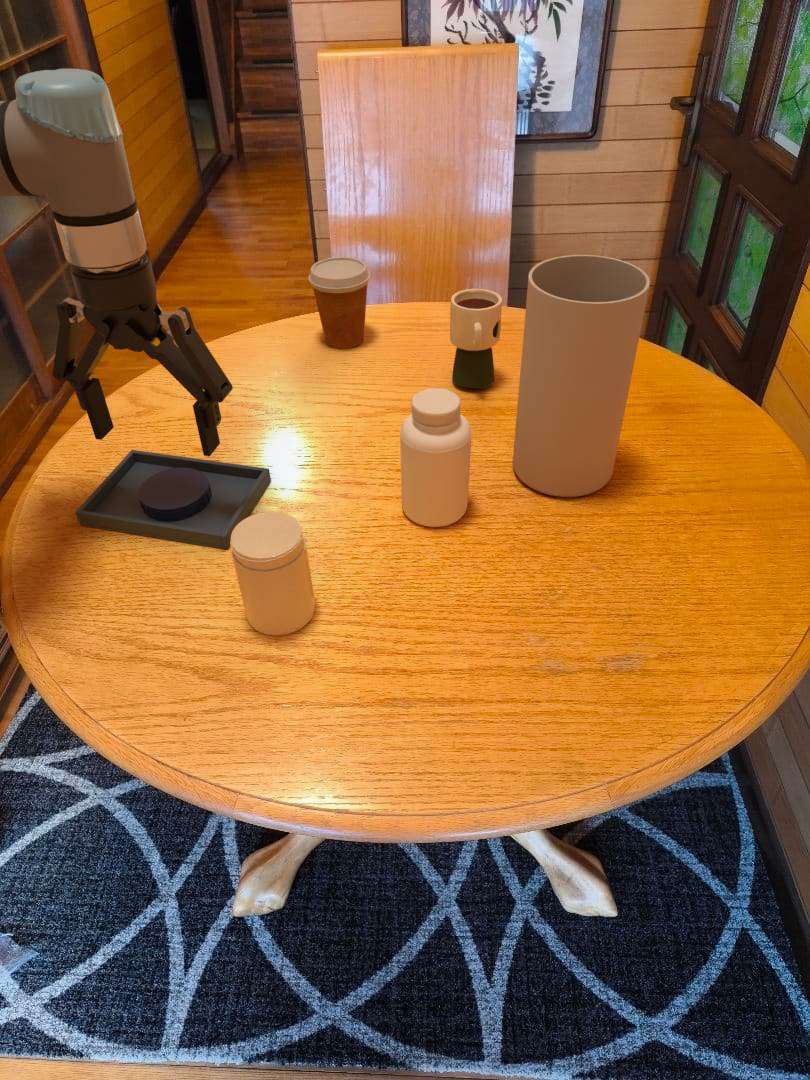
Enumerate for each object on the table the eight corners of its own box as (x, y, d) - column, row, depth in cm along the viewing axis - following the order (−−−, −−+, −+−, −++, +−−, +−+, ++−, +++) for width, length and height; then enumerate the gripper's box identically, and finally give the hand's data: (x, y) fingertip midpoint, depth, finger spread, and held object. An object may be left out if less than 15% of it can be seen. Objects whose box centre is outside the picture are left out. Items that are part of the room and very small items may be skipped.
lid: (223, 484, 96) (220, 472, 94) (192, 526, 90) (189, 514, 88) (162, 475, 97) (159, 463, 96) (128, 516, 91) (124, 504, 90)
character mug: (500, 401, 109) (506, 315, 101) (450, 402, 110) (452, 317, 101) (493, 363, 118) (498, 281, 109) (447, 364, 118) (448, 282, 109)
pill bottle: (447, 537, 88) (449, 427, 78) (389, 515, 91) (383, 406, 81) (480, 500, 93) (485, 392, 83) (423, 480, 96) (422, 374, 86)
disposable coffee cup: (325, 358, 120) (317, 284, 112) (308, 332, 127) (300, 261, 119) (382, 346, 123) (378, 274, 115) (362, 322, 129) (358, 251, 121)
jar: (235, 629, 78) (215, 552, 71) (262, 580, 83) (246, 505, 76) (301, 641, 77) (288, 564, 70) (324, 591, 82) (314, 515, 75)
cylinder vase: (566, 431, 103) (591, 246, 87) (633, 477, 95) (675, 283, 79) (492, 461, 98) (504, 272, 82) (556, 513, 90) (584, 314, 74)
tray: (79, 525, 91) (74, 512, 90) (135, 461, 101) (131, 449, 99) (227, 549, 87) (224, 536, 86) (271, 481, 97) (269, 468, 95)
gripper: (244, 255, 74) (271, 437, 88) (20, 233, 79) (79, 410, 93) (210, 286, 69) (245, 475, 83) (-28, 261, 73) (43, 444, 87)
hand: (157, 441), depth 88 cm, fingers open, 13 cm apart
